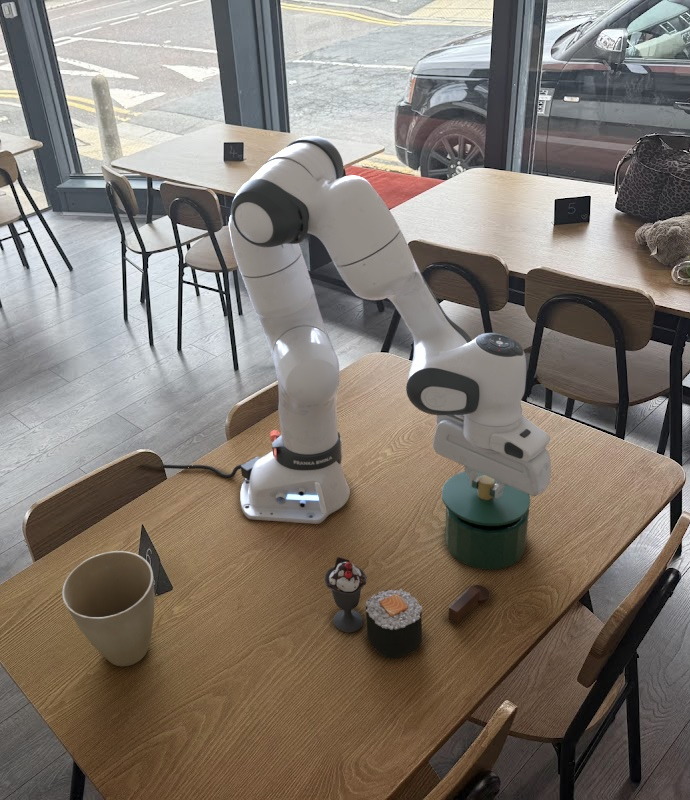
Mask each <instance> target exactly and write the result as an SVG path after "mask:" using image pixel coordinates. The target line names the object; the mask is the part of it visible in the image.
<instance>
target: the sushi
mask: <svg viewBox="0 0 690 800" xmlns="http://www.w3.org/2000/svg"><path fill="white" fill-rule="evenodd" d="M365 606H366V607H365V615H366V635H367V636H366V637H367V640H368V641H369V643H370V644H371V646H372V648H373V649H374V650H375V651H376V652H377V653H378V654H379V655H380V656H383V658H387V659H393V660H394V659H400V658H403V657H406V656H408V655H410V654H412V653H414V652H416V651H417V650H418V649H419V648H420V647H421V644H422V632H423V631H422V629H423V628H422V626H423V624H422V623H423V622H422V620H423V619H422V618H423V617H422V616H423V612H422V611H423V607H422V605H420V603H419V601H418V599H416V597H414V596H411V593H410V592H407V591H404V590H403V588H400V589H396V590H395V589H391V590H389V589H386V590H382V591H378V593H377V594H373V595H372V596H371V597H370V598H369V599H368V600H367V601H365Z"/></svg>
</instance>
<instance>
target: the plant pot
mask: <svg viewBox="0 0 690 800" xmlns="http://www.w3.org/2000/svg"><path fill="white" fill-rule="evenodd" d="M154 580H155V579H154V572H153V568H152V566H151V564H150V563H149V562H148V560H147V559H145V558H144V557H143V556H141V555H140V554H137V553H135V552H131V551H125V550H113V551H107V552H102V553H99V554H96V555H93V556H91V557H89V558H87V559H85V560H84V561H82V562H80V563H79V564H78V565H77V566H75V567H74V568H73V569H72V571H71V572H70V573H69V574H68V575H67V577H66V578H65V581H64V583H63V586H62V589H61V596H62V597H61V598H62V601H63V603H64V605H65V607H66V609H67V611H68V613H69V614H70V616H71V618H72V619H73V621H74V622H75V624H76V625H77V627H78V629H79V630H80V632H81V633H82V635H84V637H85V638H86V640H88V642H89V643H90V644H91V645H92V646H93V647H94V649H95V650H96V651H97V652H98V653H100V655H101V656H102V657H104V658H105V659H106V660H107V661H108V662H109V663H111V664H112V665H114V666H117V667H129V666H132V665H135V664H137V663H139V662H140V661H141V660H142V659H143V658H144V657H146V654H147V653H148V650H149V646H150V642H151V639H152V632H153V626H154V618H155V616H154V615H155V586H154V585H155V584H154V583H155V582H154Z"/></svg>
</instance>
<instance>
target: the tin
mask: <svg viewBox="0 0 690 800" xmlns="http://www.w3.org/2000/svg"><path fill="white" fill-rule="evenodd" d="M529 518H530V508H529V509H528V511H527V513H526V514H525V515H524V516H523V517H522V518H520V519H519V520H517V521H515V522H513V523H509V524H506V525H499V526H485V525H478V524H474V523H470V522H467V521H465V520H463V519H461V518H459V517H457V516H455V515H454V514H453V513H451V512H450V511H449V510H448V509H447V507H446V506H445V524H444V525H445V528H444V531H445V532H444V539H445V545H446V547H447V550H448V552H449V553H450V554H451V555H452V556H453V557H454V558H455V559H457V560H458V561H459V562H461V563H462V564H464V565H467V566H469V567H472V568H476V569H481V570H501V569H505V568H508V567H511V566H513V565H514V564H516V563H517V562H519V561H520V560H521V558H523V556H524V554H525V551H526V550H525V549H526V545H527V536H528V527H529Z"/></svg>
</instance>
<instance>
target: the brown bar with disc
mask: <svg viewBox="0 0 690 800" xmlns="http://www.w3.org/2000/svg"><path fill="white" fill-rule="evenodd" d="M490 598H491V591H490V590H489V589H488V588H487V587H486V586H484V585H481V584H475V585H470V586H469V587H468V589H466V590H465V591H464V592H463V593H462V594H461V595H460V596H459V597H458V598H457V599H456V600H455V601H454V602H453V603H452V604H451V605H449V607H448V621H450V622H451V623H453V624H454V625H459V623H460V622H461V621H462V620H464V618H465V617H466V616H467V615H468V614H470V612H471V611H472V610H473V609H474V608H475V607H476V606H478V605H483V604H486V603H488V602H489V600H490Z"/></svg>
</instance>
